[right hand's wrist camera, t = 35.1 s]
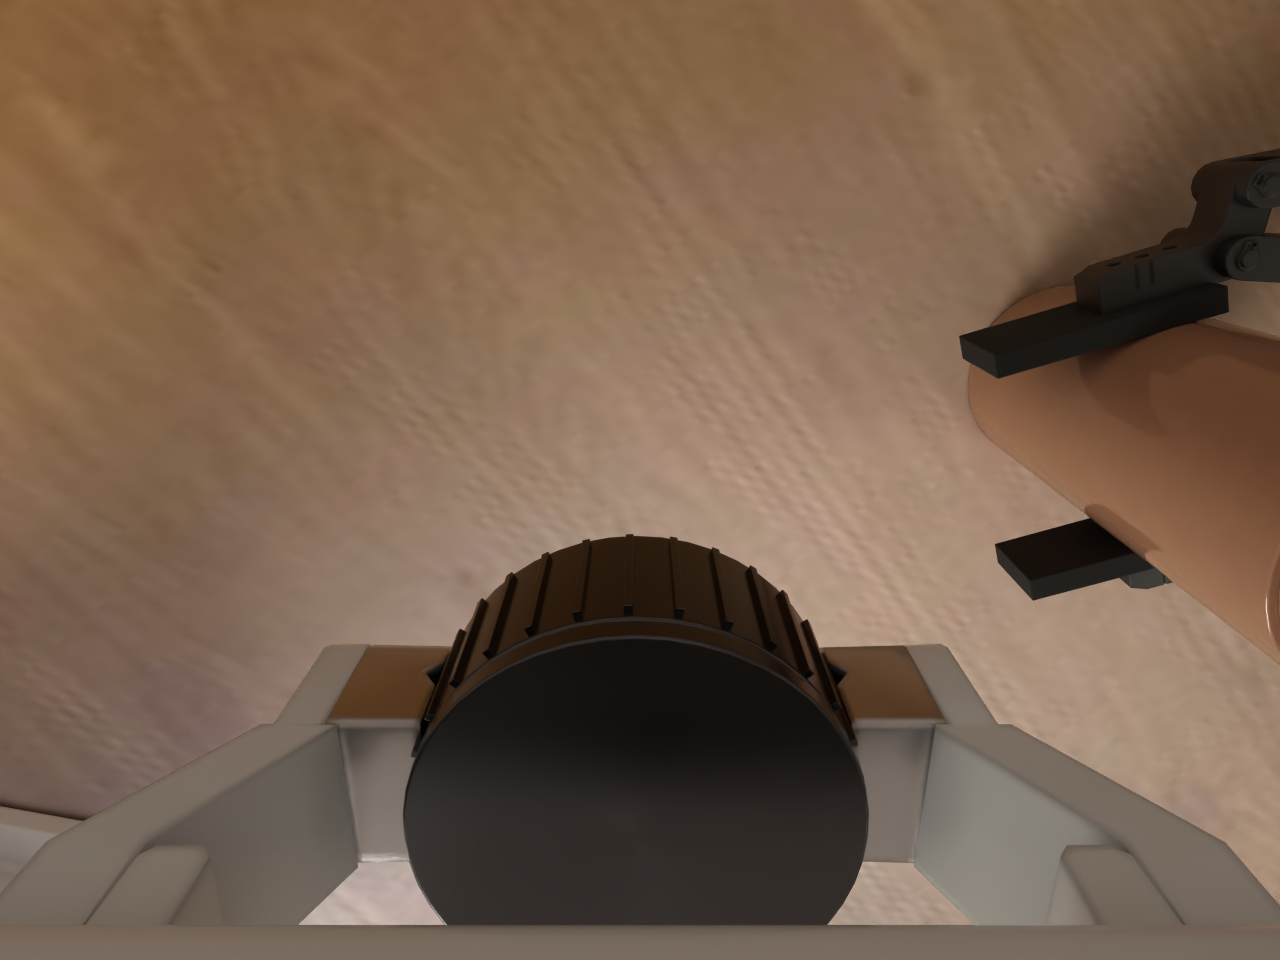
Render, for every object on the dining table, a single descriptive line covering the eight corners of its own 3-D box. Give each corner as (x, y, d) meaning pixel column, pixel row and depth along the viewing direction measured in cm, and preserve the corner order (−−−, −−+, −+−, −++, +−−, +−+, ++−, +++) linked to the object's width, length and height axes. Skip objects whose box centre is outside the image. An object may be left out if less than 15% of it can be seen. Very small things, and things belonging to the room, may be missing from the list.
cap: (404, 556, 9) (341, 664, 7) (816, 504, 9) (866, 601, 7) (486, 869, 11) (451, 1028, 9) (838, 832, 11) (884, 985, 9)
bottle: (1177, 307, 31) (2076, 545, 12) (1101, 474, 34) (1748, 902, 14) (1007, 265, 31) (1657, 441, 11) (941, 438, 33) (1386, 832, 14)
